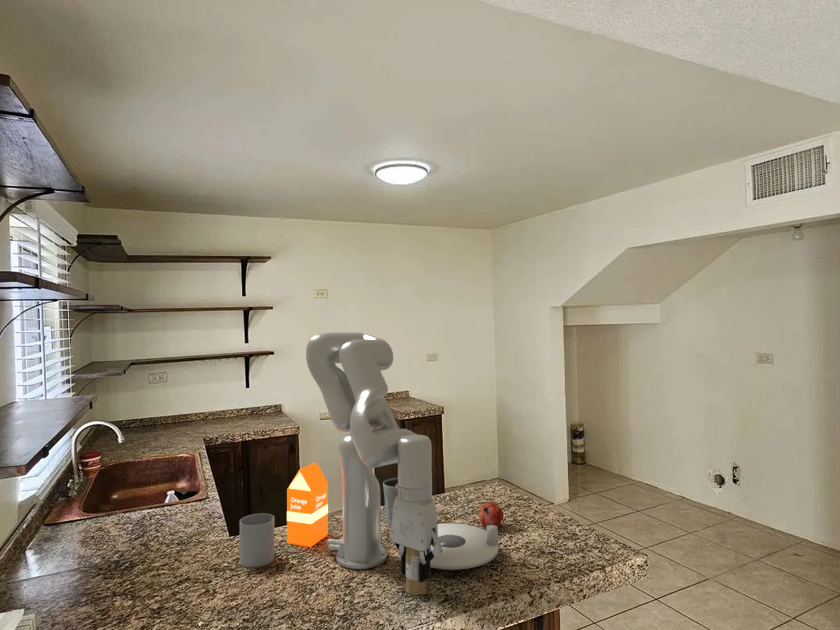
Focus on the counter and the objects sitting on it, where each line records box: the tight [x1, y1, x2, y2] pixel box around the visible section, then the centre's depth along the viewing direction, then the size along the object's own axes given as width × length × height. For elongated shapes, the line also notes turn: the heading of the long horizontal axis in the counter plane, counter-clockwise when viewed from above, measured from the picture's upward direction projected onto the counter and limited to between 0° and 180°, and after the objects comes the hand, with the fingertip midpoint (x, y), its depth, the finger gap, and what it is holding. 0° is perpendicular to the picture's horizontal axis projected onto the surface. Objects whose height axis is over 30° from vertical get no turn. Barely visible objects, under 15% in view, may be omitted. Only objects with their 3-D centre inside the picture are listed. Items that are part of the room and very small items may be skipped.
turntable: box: [425, 522, 499, 570], centre depth 129 cm, size 24×24×8 cm
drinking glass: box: [382, 477, 398, 528], centre depth 153 cm, size 10×10×12 cm
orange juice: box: [286, 461, 329, 548], centre depth 141 cm, size 8×9×20 cm
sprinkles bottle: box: [405, 547, 427, 596], centre depth 112 cm, size 5×5×13 cm
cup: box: [239, 513, 275, 568], centre depth 128 cm, size 8×8×10 cm
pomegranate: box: [478, 501, 505, 528], centre depth 148 cm, size 7×7×10 cm
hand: (415, 575), depth 112 cm, fingers closed on sprinkles bottle, 4 cm apart
